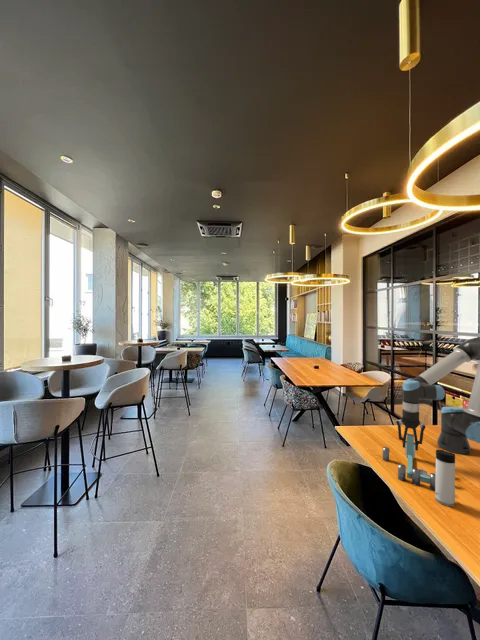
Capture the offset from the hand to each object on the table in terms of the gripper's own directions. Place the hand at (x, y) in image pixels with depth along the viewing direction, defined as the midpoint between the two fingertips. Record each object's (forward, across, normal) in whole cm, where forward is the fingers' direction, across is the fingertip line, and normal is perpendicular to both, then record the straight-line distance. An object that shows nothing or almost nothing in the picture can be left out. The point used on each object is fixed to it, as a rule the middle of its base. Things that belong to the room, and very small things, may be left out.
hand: (410, 454), depth 145 cm
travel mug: (+2, +12, -34) cm, 37 cm away
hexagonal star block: (+2, +5, -17) cm, 17 cm away
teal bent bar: (+2, +3, -10) cm, 11 cm away
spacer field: (+1, +1, -18) cm, 18 cm away
